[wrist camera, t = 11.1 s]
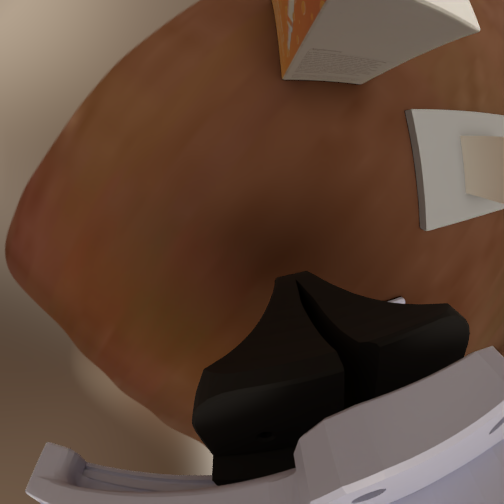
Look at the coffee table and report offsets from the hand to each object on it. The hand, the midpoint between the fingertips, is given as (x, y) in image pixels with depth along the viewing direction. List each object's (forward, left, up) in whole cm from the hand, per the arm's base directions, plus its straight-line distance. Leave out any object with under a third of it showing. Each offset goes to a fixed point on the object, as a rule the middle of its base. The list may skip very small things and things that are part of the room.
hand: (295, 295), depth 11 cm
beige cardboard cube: (+3, -21, -8) cm, 23 cm away
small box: (+14, -7, -10) cm, 18 cm away
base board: (+3, -21, -9) cm, 23 cm away
